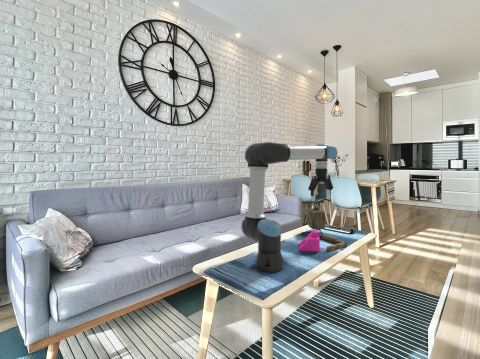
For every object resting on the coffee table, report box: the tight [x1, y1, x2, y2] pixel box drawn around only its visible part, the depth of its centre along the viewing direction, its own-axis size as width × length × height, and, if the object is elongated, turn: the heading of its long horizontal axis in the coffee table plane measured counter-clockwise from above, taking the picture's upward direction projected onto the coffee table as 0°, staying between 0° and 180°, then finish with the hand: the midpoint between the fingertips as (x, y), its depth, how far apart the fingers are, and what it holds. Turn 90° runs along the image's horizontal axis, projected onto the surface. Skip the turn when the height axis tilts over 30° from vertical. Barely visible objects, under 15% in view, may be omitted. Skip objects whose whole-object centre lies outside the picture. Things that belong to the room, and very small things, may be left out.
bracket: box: [297, 229, 321, 252], centre depth 155 cm, size 12×10×10 cm
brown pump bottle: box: [307, 199, 326, 235], centre depth 186 cm, size 14×9×25 cm, turn 179°
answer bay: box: [303, 233, 348, 252], centre depth 162 cm, size 16×22×3 cm
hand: (320, 200), depth 165 cm, fingers open, 13 cm apart
